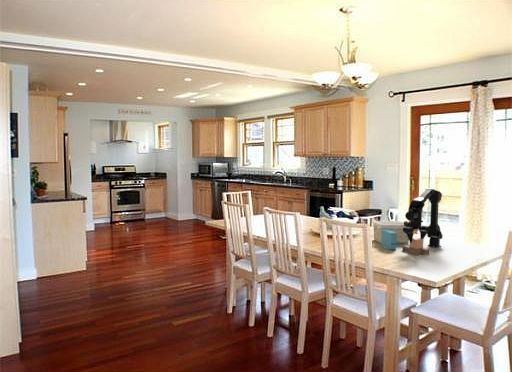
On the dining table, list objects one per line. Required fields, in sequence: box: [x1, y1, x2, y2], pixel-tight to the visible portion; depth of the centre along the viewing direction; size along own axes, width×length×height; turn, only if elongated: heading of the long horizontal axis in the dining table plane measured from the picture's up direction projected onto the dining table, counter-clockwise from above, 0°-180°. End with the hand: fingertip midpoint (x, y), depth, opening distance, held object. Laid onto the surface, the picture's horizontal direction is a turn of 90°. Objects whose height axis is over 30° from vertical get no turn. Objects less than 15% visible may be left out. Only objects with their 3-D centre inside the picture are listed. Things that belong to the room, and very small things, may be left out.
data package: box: [380, 230, 397, 251], centre depth 279 cm, size 12×4×12 cm, turn 14°
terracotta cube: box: [408, 237, 424, 249], centre depth 266 cm, size 6×6×6 cm
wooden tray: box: [402, 244, 430, 257], centre depth 267 cm, size 10×14×4 cm
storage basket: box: [372, 220, 411, 245], centre depth 299 cm, size 24×16×15 cm
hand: (416, 241), depth 266 cm, fingers open, 9 cm apart
